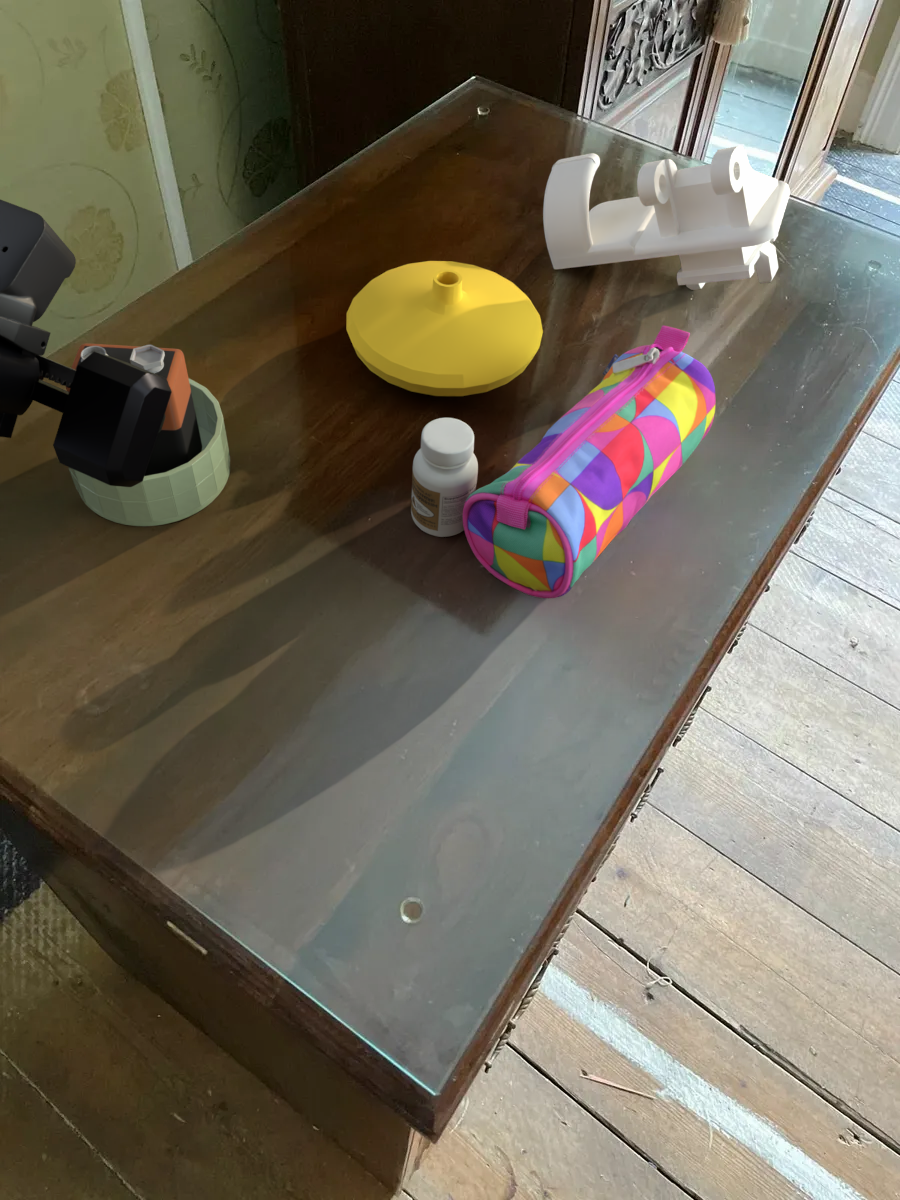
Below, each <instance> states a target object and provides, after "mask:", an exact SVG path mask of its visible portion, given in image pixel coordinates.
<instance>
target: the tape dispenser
mask: <svg viewBox="0 0 900 1200" xmlns="http://www.w3.org/2000/svg"><path fill="white" fill-rule="evenodd" d="M716 150H717V151H716V152H715V153H714V155H713V156H712V158H711V163H708V164H702V165H697V166H691V167H685V168H680V169H678V167H677V165H676V163H675V162H674V160H672V159H671V158H665V159H659V160H655V161H650V162H646V163H644V164H643V165H642V166H641V167H640V169H639V171H638V174H637V180H636V189H637V194H638V196H633V197H627V198H621V199H613V200H608V201H604V202H601V203H598V204H597V205H595V206H593V207H592V208H591V209H590V196H591V189H592V184H593V181H594V177H595V175H596V173H597V170H598V168H599V167H600V164H601V158H600V156H599V155H598V154H597V153H594V152H590V153H586V154H581V155H575V156H571V157H565V158H560V159H558V160H557V161H556V162H554V163H553V165H552V167H551V170H550V173H549V176H548V179H547V182H546V186H545V190H544V197H543V208H542V216H543V217H542V221H543V233H544V238H545V244H546V248H547V252H548V255H549V260H550V262H551V265H552V268H553V270H563V269H564V270H565V269H570V268H571V269H572V268H581V267H588V266H589V267H590V266H597V265H607V264H614V263H615V264H616V263H623V262H629V261H631V262H632V261H639V260H647V259H656V258H665V257H671V256H673V257H674V256H678V257H679V262H680V268H679V270H678V271H677V272H676V282H677V286H686V288H688V289H689V290H691V291H695V290H702V289H703V288H704V286H705V284H707V283H717V282H727V281H737V280H746V279H747V280H748V279H751V278H752V276H753V275H754V273H755V272H756V274H757V275H756V276H757V281H758V283H759V284H768V283H771V282H772V281H773V279H774V278H775V276H776V274H777V272H778V270H779V261H778V256H777V248H776V245H774V244H773V242H775V241H776V240H777V238H778V236H779V231H780V228H781V225H782V222H783V220H784V219H783V218H784V215H785V212H786V209H787V205H788V202H789V199H790V195H791V190H790V189H791V188H790V185H789V184H788V183H787V182H786V181H783V180H778V178H776V177H773V176H770V175H767V174H765V173H762V172H761V171H757V170H755V169H753V167H752V166H751V164H750V161H749V157H748V154H747V151H746V149H745V148H744V146H742V145H737V146H731V147H726V148H720V149H716ZM755 269H756V271H755Z"/></svg>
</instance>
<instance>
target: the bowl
mask: <svg viewBox="0 0 900 1200" xmlns="http://www.w3.org/2000/svg"><path fill="white" fill-rule="evenodd" d="M189 383H190V388H191V393H192V398H193V403H194V408H195V413H196V418H197V423H198V428H199V432H200V437H201V442H202V451H201V452H200V453H199V454H198V455H197V456H195V457H194V458H193V459H192V460H190V461H189V462H188V463H185V464H183V465H181V466H179V467H176V468H174V469H172V470H170V471H167V472H164V473H159V474H154V475H149V476H144V479H143V481H142V482H141V483H139V484H137V485H135V486H133V487H121V486H110V485H108V484H106V483H103V482H101V481H99V480H97V479H94V478H92V477H90V476H88V475H85V474H83V473H81V472H79V471H76V470H74V469H72V468H70V467H67V468H68V471H69V473H70V476H71V479H72V482H73V484H74V487H75V490H76V491H77V493H78V494H79V496H80V499H81V500H82V501H83V503H84V504H85V505H86V506H87V507H88V508H89V510H90V511H92V512H94V513H95V514H96V515H98V516H100V517H102V518H104V519H106V520H108V521H110V522H113V523H115V524H116V523H117V524H121V525H125V526H133V527H156V526H163V525H169V524H171V523H176V522H179V521H181V520H184V519H187V518H189V517H192V516H193V515H195V514H197V513H199V512H201V511H202V510H204V509H205V508H206V507H208V506H209V505H211V504H212V503H213V502H214V501H215V500H216V499H217V498H218V496H219V495H220V494H221V493H222V492H223V490H224V488H225V487H226V485H227V482H228V479H229V477H230V472H231V454H230V448H229V442H228V437H227V431H226V424H225V421H224V420H225V419H224V415H223V411H222V409H221V406H220V402H219V400H218V399H217V398H216V397H215V396H214V395H213V394H212V392H211V391H210V390H209V389H208V388H207V387H206V386H204V385H202V384H200V383H198V382H197V381H195V380H193V379H191V378H189Z"/></svg>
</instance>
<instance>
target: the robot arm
mask: <svg viewBox="0 0 900 1200" xmlns="http://www.w3.org/2000/svg"><path fill="white" fill-rule="evenodd" d="M76 261H77V259H76V256H75V254H74V253H73V252H72V250H71V249H70V248H69V247H68V246H67V244H66V243H65V242H64V240H62V238H60V236H59V234H57V233H56V232H55V230H54V229H53V228H52V227H51V226H50V224H49V223H48V221H46V219H44V217H43V216H42V215H40V214H39V213H37V212H35V211H32V210H30V209H28V208H25V207H22V206H19V205H16V204H13V203H11V202H9V201H5V200H3V199H0V438H8V439H11V438H12V436H13V433H14V430H15V426H16V424H17V419H18V416H23V415H24V414H25V413H26V412H27V410H28V409H30V406H31V405H32V403H33V402H36V403H38V404H41V405H43V406H45V407H48V408H50V409H52V410H54V411H57V412H60V413H62V415H61V418H60V421H59V424H58V428H57V431H56V435H55V437H54V441H53V444H52V447H53V450H54V452H55V455H56V457H57V460H58V463H59V464H61V465H63V466H65V467H67V468H68V467H70V468H72V469H74V470H76V471H79V472H81V473H83V474H85V475H88V476H90V477H92V478H94V479H97V480H99V481H101V482H103V483H106V484H108V485H110V486H121V487H133V486H135V485H137V484H139V483H141V482H142V481H143V479H144V476H145V473H146V470H147V466H148V463H149V460H150V457H151V454H152V451H153V448H154V445H155V442H156V439H157V436H158V433H159V432H160V431H161V429H162V427H163V424H164V421H165V417H166V416H165V411H166V408H167V405H168V402H169V399H170V396H171V393H172V391H171V389H170V386H169V384H168V381H167V379H166V378H164V377H162V376H159V375H157V374H154V373H152V372H149V371H147V370H144V369H142V368H140V367H137V366H135V365H132V364H130V363H127V362H125V361H122V360H119V359H116V358H113V357H111V356H108V355H105V354H101V353H98V352H95V351H94V352H93V353H92V354H90V355H89V356H88V357H87V358H86V359H84V360H83V361H82V362H81V363H80V364H78V366H77V369H76V370H74V369H72V368H71V367H70V366H67V365H64V364H62V363H60V362H57V361H55V360H52V359H50V358H48V357H45V356H44V355H45V353H46V349H47V347H48V343H49V339H50V336H51V332H50V331H48V330H45V329H43V328H41V327H38V326H35V325H33V324H34V323H35V322H37V321H38V320H40V319H41V318H42V317H43V315H44V314H45V312H47V309H48V308H49V306H50V304H51V303H52V301H53V300H54V298H55V296H56V295H57V293H58V291H59V289H60V288H61V286H62V284H63V283H64V281H65V279H68V278H70V276H71V275H72V273H73V272H74V270H75V268H76ZM44 379H48V381H52V382H54V383H56V384H60V386H64V387H65V386H66V387H67V388H70V392H68V391H67V390H66V389H64V388H61V387H58V386H56V385H54V384H51V383H50V382H46V381H44ZM66 387H65V388H66Z"/></svg>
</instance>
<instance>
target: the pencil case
mask: <svg viewBox="0 0 900 1200" xmlns="http://www.w3.org/2000/svg"><path fill="white" fill-rule="evenodd" d="M690 335H691V333H690V332H689V331H686V330H682V329H679V328H676V327H672V326H668V325H664V324H663V325H661V327H660V330H659V331H658V334H657V335H656V337H655V339H654V340H653V343H652V344H646V345H645V344H644V345H640V346H637V347H635V348H632V349H629V350H627V351H625V352H624V353H622V354H621V355H620V356H619V355H618V354H616V353H614V354H613V356H612V358H611V359H610V361H609V363H608V364H607V366H606V367H605V369H604V370H603V372H602V375H603V376H604V377H603V378H602V380H601V381H600V383H599V384H598V385H596V386H595V387H594V388H593V389H591V390H590V391H589V392H588V393H587V394H586V395H585V396H584V397H583V398H582V399H580V400H579V401H578V402H577V403H576V404H574V405H573V407H571V408H570V409H569V410H568V411H566V412H565V413H564V414H563V415H562V416H561V417H560V418H559V419H558V420H557V421H555V422H554V423H553V424H552V425H551V426H550V427H549V428H548V430H547V431H546V432H545V434H544V435H543V436H542V438H541V440H540V442H538V444H536V445H535V446H534V447H533V448H532V449H531V450H530V451H528V452H527V453H526V454H524V455H523V456H522V457H521V458H520V459H519V460H518V461H517V462H516V463H515V464H514V465H513V467H512V468H510V469H509V471H507V472H505V474H502V475H501V476H499V477H498V478H496V479H494V480H493V481H492V482H491V483H489V484H485V485H484V486H482V487H479V488H478V489H476V491H475V492H473V493H472V494H470V495H469V496H468V498H467V500H466V501H465V504H464V509H463V527H464V530H463V532H464V534H465V537H466V540H467V543H468V545H469V547H470V549H471V552H472V553H473V555H474V556H475V558H476V559H477V561H478V562H479V563H480V564H481V565H482V566H483V568H485V569H486V570H487V571H488V572H489V573H490V574H491V575H493V577H494V578H497V579H498V580H499V581H500V582H502V583H505V584H506V585H507V586H509V587H511V588H512V589H515V590H516V591H517V590H518V591H519V592H521V593H523V594H525V595H528V596H531V597H534V598H539V599H540V598H541V599H557V598H560V597H563V596H565V595H566V594H568V593H569V592H570V591H571V590H572V588H573V587H574V585H575V584H576V582H577V581H578V580H579V579H580V577H581V576H582V574H583V573H584V571H586V570H587V569H588V568H589V567H590V566H591V565H592V564H593V563H594V562H595V561H596V560H597V559H598V557H599V556H600V555H601V554H602V553H603V552H604V551H605V549H606V548H607V547H608V545H610V543H611V542H612V541H613V540H614V539H615V537H617V536H618V535H619V534H620V533H621V532H622V531H624V530H625V529H626V528H627V527H628V525H629V523H630V521H632V520H633V518H634V517H635V516H636V515H637V513H639V511H640V510H641V509H642V508H643V507H644V506H645V505H646V504H647V503H648V501H649V500H650V498H651V497H652V496H653V495H654V494H655V493H657V491H658V490H659V489H661V487H663V485H664V484H666V483H667V482H668V480H670V479H671V478H672V476H673V475H674V474H676V473H677V472H678V470H680V468H681V467H682V466H683V465H684V464H685V463H686V462H687V460H688V459H689V458H690V456H691V455H692V454H693V453H694V451H695V450H696V449H697V447H698V446H699V444H700V443H701V442H702V441H703V440H704V439H705V438H706V436H707V435H708V433H709V432H710V431H711V428H712V426H713V423H714V419H715V414H716V387H715V382H714V379H713V377H712V374H711V372H710V371H709V369H708V368H707V367H706V365H704V364H703V363H702V362H700V361H699V360H698V359H696V358H694V357H692V356H691V355H689V354H687V353H686V352H684V351H683V350H684V349H685V347H686V346H687V344H688V342H689V338H690Z"/></svg>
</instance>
